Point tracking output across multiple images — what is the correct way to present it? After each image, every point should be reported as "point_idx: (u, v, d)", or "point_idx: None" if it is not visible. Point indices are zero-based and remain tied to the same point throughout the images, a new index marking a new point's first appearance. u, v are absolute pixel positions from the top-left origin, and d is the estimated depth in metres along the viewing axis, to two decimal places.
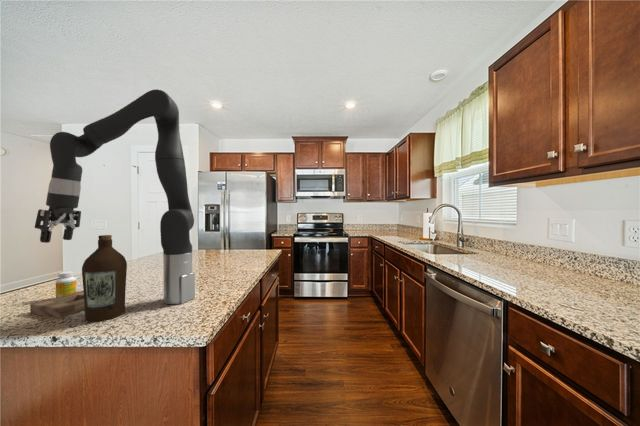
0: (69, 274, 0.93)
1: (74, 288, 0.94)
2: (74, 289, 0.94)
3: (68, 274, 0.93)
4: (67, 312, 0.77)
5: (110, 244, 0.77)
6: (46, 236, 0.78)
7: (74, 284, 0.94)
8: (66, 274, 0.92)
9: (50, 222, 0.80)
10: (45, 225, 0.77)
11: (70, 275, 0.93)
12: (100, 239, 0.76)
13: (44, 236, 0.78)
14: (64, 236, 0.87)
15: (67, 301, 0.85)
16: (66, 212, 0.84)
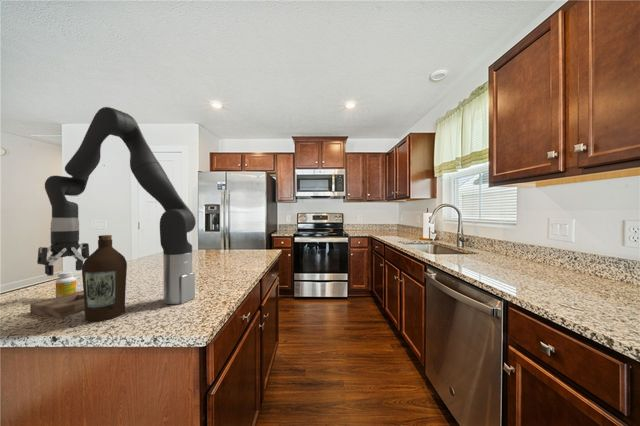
0: (69, 274, 0.93)
1: (74, 288, 0.94)
2: (74, 289, 0.94)
3: (68, 274, 0.93)
4: (67, 312, 0.77)
5: (110, 244, 0.77)
6: (48, 270, 0.88)
7: (74, 284, 0.94)
8: (66, 274, 0.92)
9: (52, 257, 0.90)
10: (43, 261, 0.87)
11: (70, 275, 0.93)
12: (100, 239, 0.76)
13: (47, 270, 0.88)
14: (76, 267, 0.97)
15: (67, 301, 0.85)
16: (69, 246, 0.94)
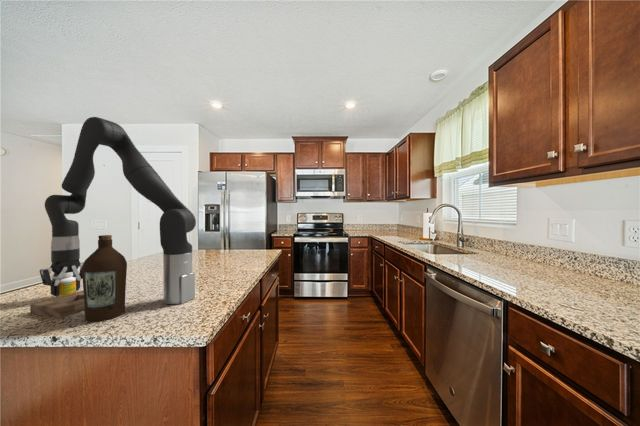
0: (69, 274, 0.93)
1: (74, 288, 0.94)
2: (74, 288, 0.94)
3: (68, 274, 0.93)
4: (67, 312, 0.77)
5: (110, 244, 0.77)
6: (54, 290, 0.90)
7: (74, 284, 0.94)
8: (66, 274, 0.92)
9: (55, 277, 0.90)
10: (49, 282, 0.88)
11: (70, 275, 0.93)
12: (100, 239, 0.76)
13: (52, 291, 0.89)
14: None
15: (67, 301, 0.85)
16: (69, 265, 0.94)
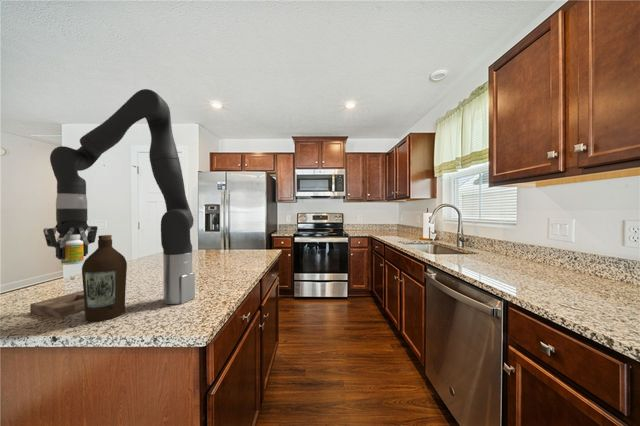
0: (76, 236, 0.83)
1: (81, 252, 0.84)
2: (82, 253, 0.85)
3: (75, 236, 0.83)
4: (67, 312, 0.77)
5: (110, 244, 0.77)
6: (59, 253, 0.80)
7: (81, 248, 0.85)
8: (73, 236, 0.83)
9: (61, 239, 0.81)
10: (54, 242, 0.78)
11: (77, 237, 0.84)
12: (100, 239, 0.76)
13: (58, 253, 0.80)
14: None
15: (67, 301, 0.85)
16: (76, 226, 0.84)
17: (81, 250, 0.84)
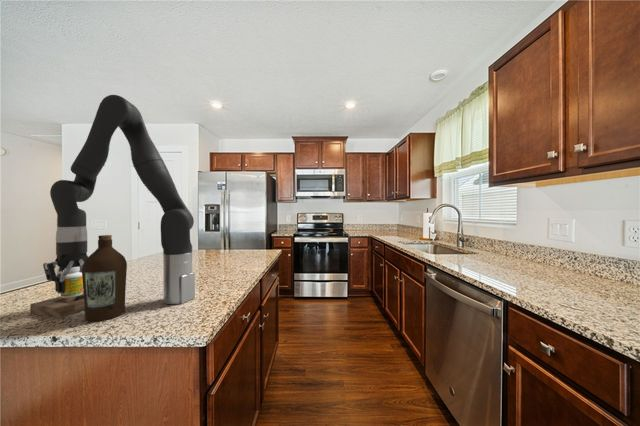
0: (76, 269, 0.83)
1: (81, 285, 0.84)
2: (81, 285, 0.85)
3: (75, 269, 0.83)
4: (67, 312, 0.77)
5: (110, 244, 0.77)
6: (59, 287, 0.80)
7: (81, 280, 0.85)
8: (72, 269, 0.83)
9: (61, 272, 0.81)
10: (53, 277, 0.78)
11: (76, 269, 0.84)
12: (100, 239, 0.76)
13: (57, 287, 0.80)
14: None
15: (67, 301, 0.85)
16: (76, 258, 0.84)
17: (81, 282, 0.84)
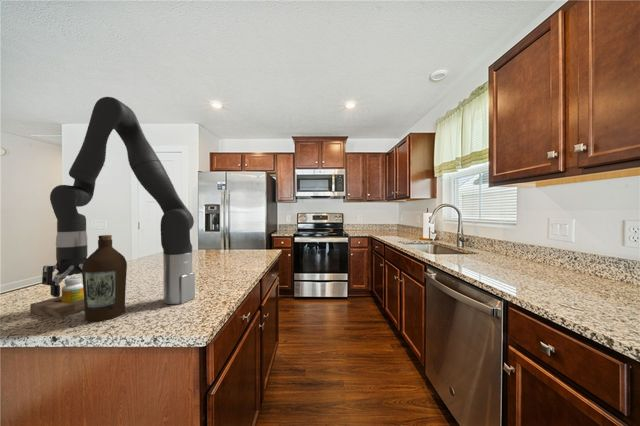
0: (77, 281, 0.84)
1: (82, 296, 0.85)
2: (82, 297, 0.85)
3: (75, 281, 0.83)
4: (67, 312, 0.77)
5: (110, 244, 0.77)
6: (54, 291, 0.79)
7: (82, 292, 0.85)
8: (73, 281, 0.83)
9: (58, 276, 0.80)
10: (49, 281, 0.77)
11: (77, 281, 0.84)
12: (100, 239, 0.76)
13: (52, 291, 0.79)
14: None
15: None
16: (76, 263, 0.84)
17: (82, 294, 0.85)
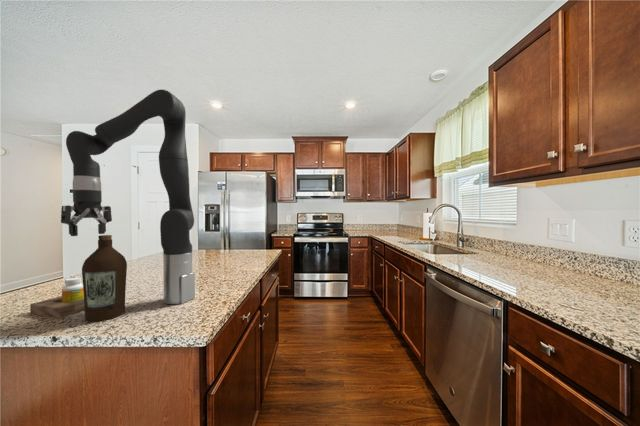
0: (77, 281, 0.84)
1: (82, 296, 0.85)
2: (83, 297, 0.85)
3: (76, 281, 0.83)
4: (67, 312, 0.77)
5: (110, 244, 0.77)
6: (73, 230, 0.84)
7: (82, 292, 0.85)
8: (73, 281, 0.83)
9: (75, 217, 0.85)
10: (67, 219, 0.82)
11: (77, 281, 0.84)
12: (100, 239, 0.76)
13: (71, 230, 0.84)
14: (99, 230, 0.93)
15: None
16: (91, 207, 0.89)
17: (82, 294, 0.85)
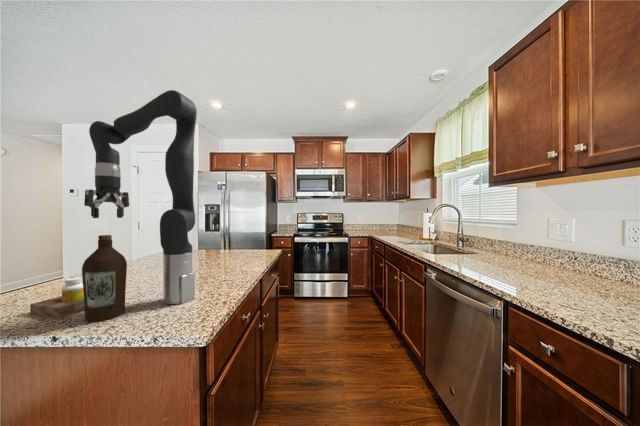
0: (77, 281, 0.84)
1: (82, 296, 0.85)
2: (83, 297, 0.85)
3: (76, 281, 0.83)
4: (67, 312, 0.77)
5: (110, 244, 0.77)
6: (94, 212, 0.91)
7: (82, 292, 0.85)
8: (74, 281, 0.83)
9: (97, 200, 0.92)
10: (90, 202, 0.89)
11: (77, 281, 0.84)
12: (100, 239, 0.76)
13: (93, 212, 0.91)
14: (117, 214, 1.00)
15: None
16: (111, 192, 0.96)
17: (82, 294, 0.85)
